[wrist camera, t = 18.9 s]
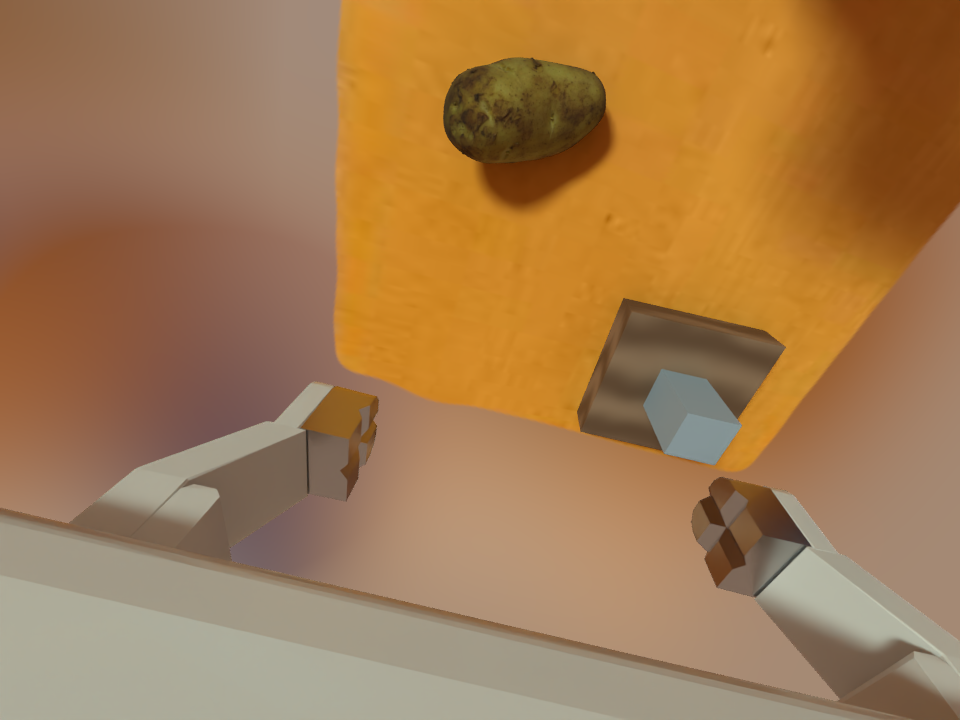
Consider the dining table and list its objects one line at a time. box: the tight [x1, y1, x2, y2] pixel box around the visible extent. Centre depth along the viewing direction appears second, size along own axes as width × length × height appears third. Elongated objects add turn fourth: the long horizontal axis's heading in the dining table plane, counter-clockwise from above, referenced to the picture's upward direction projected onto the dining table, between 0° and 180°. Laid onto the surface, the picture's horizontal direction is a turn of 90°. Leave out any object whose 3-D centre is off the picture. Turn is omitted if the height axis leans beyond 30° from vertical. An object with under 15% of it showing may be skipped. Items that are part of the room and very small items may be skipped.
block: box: [643, 369, 742, 465], centre depth 40 cm, size 5×5×8 cm
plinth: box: [577, 298, 786, 450], centre depth 45 cm, size 16×16×4 cm
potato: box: [443, 58, 606, 163], centre depth 32 cm, size 8×13×8 cm, turn 77°
